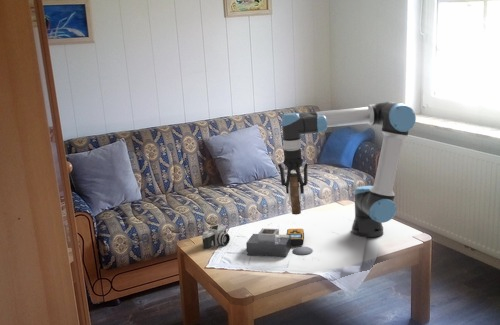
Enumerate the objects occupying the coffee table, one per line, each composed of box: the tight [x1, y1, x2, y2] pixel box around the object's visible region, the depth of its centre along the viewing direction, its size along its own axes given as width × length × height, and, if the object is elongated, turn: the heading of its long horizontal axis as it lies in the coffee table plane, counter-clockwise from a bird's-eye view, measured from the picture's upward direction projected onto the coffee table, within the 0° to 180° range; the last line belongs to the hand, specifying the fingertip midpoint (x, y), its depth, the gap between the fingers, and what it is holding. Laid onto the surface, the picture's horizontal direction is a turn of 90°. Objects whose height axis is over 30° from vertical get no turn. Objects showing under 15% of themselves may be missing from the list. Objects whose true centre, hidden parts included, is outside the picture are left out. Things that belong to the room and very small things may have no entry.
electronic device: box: [286, 228, 305, 247], centre depth 253 cm, size 8×16×3 cm, turn 175°
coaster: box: [292, 246, 314, 256], centre depth 239 cm, size 9×9×1 cm
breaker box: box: [245, 228, 292, 258], centre depth 241 cm, size 18×12×10 cm, turn 74°
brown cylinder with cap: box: [289, 172, 302, 216], centre depth 234 cm, size 4×4×18 cm
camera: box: [201, 224, 231, 251], centre depth 252 cm, size 16×9×10 cm, turn 144°
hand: (295, 200), depth 235 cm, fingers closed on brown cylinder with cap, 4 cm apart
